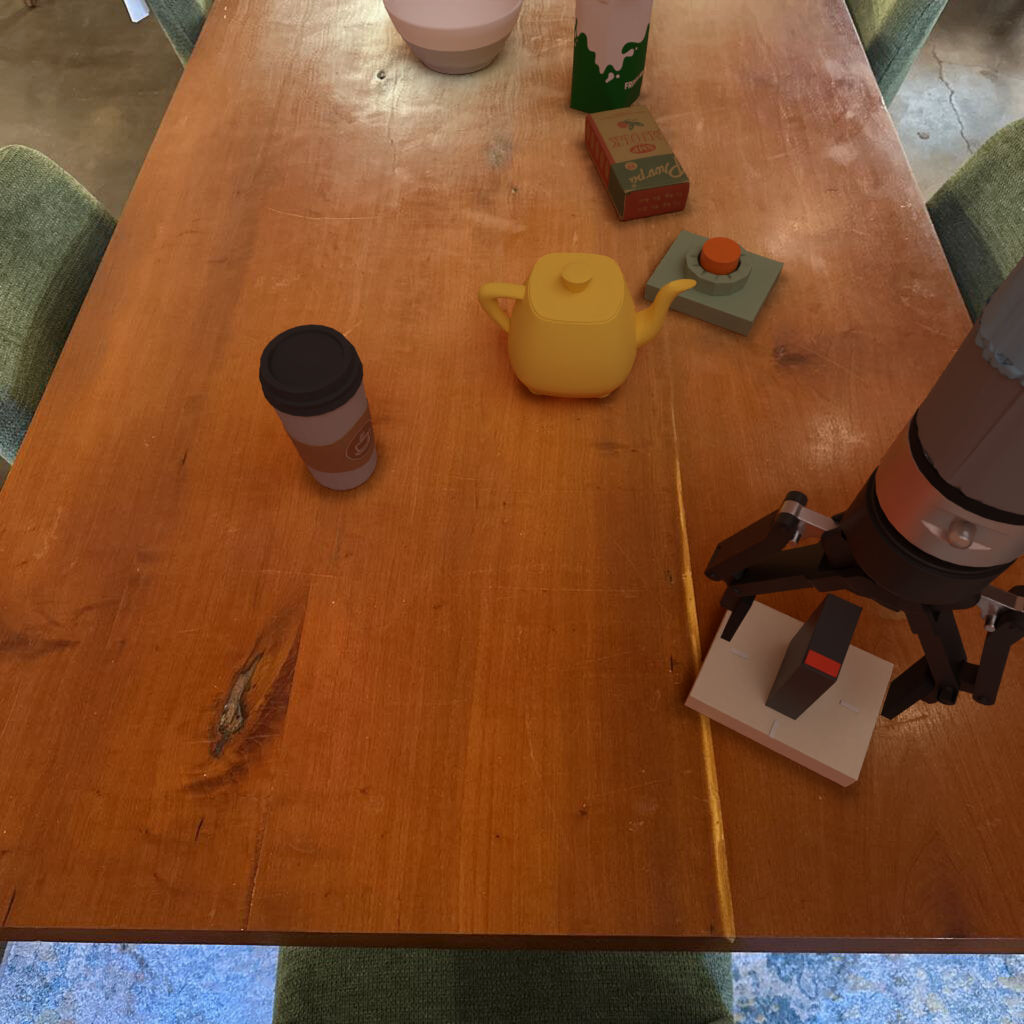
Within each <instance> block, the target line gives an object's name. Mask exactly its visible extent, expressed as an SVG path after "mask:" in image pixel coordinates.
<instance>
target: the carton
mask: <svg viewBox="0 0 1024 1024" xmlns="http://www.w3.org/2000/svg"><path fill="white" fill-rule="evenodd" d="M584 145H585V147H586V150H587V151H588V154H589V155H590V158H591V161H592V162H593V164H594V167H595V168H596V171H597V173H598V175H599V177H600V179H601V181H602V183H603V185H604V188H605V190H606V192H607V194H608V196H609V198H610V200H611V203H612V205H613V207H614V210H615V212H616V214H617V217H618V219H619V220H620V221H621V222H623V221H624V222H625V221H629V220H636V219H641V218H648V217H653V216H658V215H662V214H663V215H664V214H668V213H673V212H674V213H675V212H678V211H679V212H680V211H683V210H685V209H686V205H687V203H688V202H687V201H688V198H689V192H690V187H691V182H690V179H689V177H688V175H687V173H686V171H685V170H684V168H683V166H682V165H681V163H680V161H679V159H678V157H677V156H676V154H675V153H674V151H673V150H672V148H671V146H670V144H669V143H668V141H667V139H666V137H665V135H664V134H663V132H662V130H661V129H660V127H659V125H658V123H657V121H656V120H655V117H654V116H653V115H652V113H651V111H650V109H649V108H648V105H646V104H644V105H636V106H630V107H628V108H621V109H615V110H609V111H604V112H598V113H592V114H591V113H587V114H585V120H584Z"/></svg>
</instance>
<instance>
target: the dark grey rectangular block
mask: <svg viewBox="0 0 1024 1024" xmlns="http://www.w3.org/2000/svg"><path fill="white" fill-rule="evenodd" d="M862 611H863V607H862V606H860V605H858V604H856V603H854V602H851V601H849V600H846V599H845V598H842V597H840V596H838V595H835V594H834V593H831V592H827V594H826V595H825V597H824V598H823V599H822V600H821V601H820V603H819V604H818V605H817V607H816V608H815V609H814V611H812V613H811V614H810V616H809V617H808V618H807V619H806V621H805V622H803V623H804V625H803V626H802V627H801V628H800V630H799V631H798V632H797V633H796V635H795V636H794V637H793V639H792V640H791V641H790V644H789V646H788V649H787V651H786V654H785V656H784V659H783V661H782V664H781V666H780V669H779V672H778V674H777V677H776V679H775V682H774V684H773V687H772V689H771V692H770V694H769V697H768V699H767V702H766V704H765V705H766V706H767V707H770V708H772V709H774V710H776V711H778V712H780V713H782V714H784V715H786V716H788V717H790V718H792V719H794V720H796V719H797V718H798V717H800V716H801V715H802V714H803V713H804V712H805V711H806V710H807V709H808V708H809V707H810V706H811V705H812V704H813V703H814V702H815V701H816V700H817V699H819V698H820V697H821V696H822V695H823V694H824V693H825V692H826V691H827V690H828V689H829V688H830V687H831V686H832V685H833V684H834V683H835V682H836V681H837V679H838V676H839V673H840V671H841V668H842V665H843V662H844V659H845V657H846V654H847V651H848V648H849V645H850V644H851V642H852V639H853V637H854V634H855V631H856V629H857V625H858V624H859V620H860V617H861V614H862Z"/></svg>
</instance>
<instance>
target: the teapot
mask: <svg viewBox="0 0 1024 1024" xmlns="http://www.w3.org/2000/svg"><path fill="white" fill-rule="evenodd" d="M621 269H622V268H620V266H619V264H618V263H617V261H616V260H614V259H613V258H611V257H609V256H606V255H603V254H597V253H588V252H570V251H569V252H552V253H548V254H545V255H543V256H541V257H540V258H539V259H538V260H537V261H536V262H535V264H534V265H533V266H532V268H531V270H530V271H529V273H528V275H527V277H526V278H525V280H524V282H523V284H518V283H511V282H504V281H490V282H486V283H483V284H481V286H480V287H479V288H478V290H477V294H476V295H477V299H478V303H479V305H480V306H481V309H482V310H483V311H484V313H485V314H486V315H487V316H488V317H489V318H490V319H491V320H492V321H493V322H494V323H495V324H496V326H498V327H499V328H500V329H501V330H503V331H504V333H505V334H507V351H508V358H509V361H510V364H511V368H512V370H513V371H514V374H515V376H516V377H517V379H518V380H519V382H520V383H522V384H523V385H524V386H525V387H526V388H528V391H529V392H531V393H532V394H534V395H538V396H542V395H544V396H547V397H548V396H549V397H555V398H568V399H591V398H596V399H603V398H606V397H608V396H609V395H610V394H611V393H613V391H615V390H617V389H618V388H620V387H621V386H622V385H623V383H625V381H626V380H627V378H628V377H629V375H630V373H631V371H632V368H633V367H634V364H635V360H636V358H637V353H638V349H641V348H644V347H645V346H647V345H649V344H650V343H651V342H653V341H654V340H655V338H657V336H658V335H659V334H660V332H661V331H662V329H663V326H664V324H665V321H666V318H667V315H668V312H669V309H670V308H669V307H670V305H671V303H672V301H673V300H674V299H675V298H676V297H677V296H678V295H679V294H680V293H682V292H684V291H686V290H688V289H690V288H692V287H694V286H695V285H696V283H697V282H696V281H695V280H692V279H681V280H675V281H672V282H669V283H668V284H666V285H665V286H663V287H662V288H661V289H660V290H659V292H658V293H657V295H656V297H655V300H654V302H652V303H651V305H650V306H648V307H647V308H645V309H642V310H640V311H636V305H635V302H634V299H633V296H632V293H631V290H630V287H629V285H628V283H627V280H626V278H625V275H624V273H623V272H622V270H621ZM498 299H510V300H515V301H514V304H513V307H512V310H511V314H510V318H509V316H508V315H507V314H506V313H505V311H504V310H503V308H502V307H501V305H500V304H499V301H498Z"/></svg>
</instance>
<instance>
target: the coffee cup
mask: <svg viewBox="0 0 1024 1024" xmlns="http://www.w3.org/2000/svg"><path fill="white" fill-rule="evenodd" d="M258 379H259V384H260V385H261V390H262V394H263V396H264V398H265V400H266V401H267V402H268V404H269V405H270V406H271V407H273V409H274V411H275V413H276V415H277V417H278V418H279V420H280V422H281V423H282V425H283V428H284V431H285V433H286V434H287V436H288V437H289V439H290V441H291V442H292V444H293V446H294V448H295V450H296V451H297V454H298V455H299V457H300V459H302V461H303V462H304V464H305V466H306V468H307V469H308V470H309V473H310V474H311V476H312V477H313V478H314V480H315V481H316V483H318V484H320V485H321V486H322V487H326V488H328V489H330V490H334V491H347V490H348V491H349V490H352V489H355V488H358V487H359V486H361V485H363V484H364V483H366V482H367V481H368V480H369V479H370V478H371V476H372V475H373V472H374V470H375V469H376V466H377V462H378V455H377V449H376V443H375V433H374V427H373V426H374V425H373V422H372V415H371V410H370V405H369V400H368V397H367V394H366V389H365V388H366V387H365V383H364V365H363V363H362V360H361V358H360V356H359V353H358V351H357V349H356V347H355V345H353V344H352V343H351V342H350V340H349V339H348V338H346V336H345V335H344V334H343V333H342V332H340V331H339V330H336V329H335V328H334V327H330V326H327V325H323V324H311V323H310V324H302V325H298V326H297V325H296V326H295V327H291V328H288V329H285V330H284V331H282V332H280V333H279V334H277V335H276V336H275V337H273V338H272V339H271V340H270V341H269V342H268V343H267V344H266V346H265V347H264V348H263V350H262V353H261V356H260V359H259V368H258Z"/></svg>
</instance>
